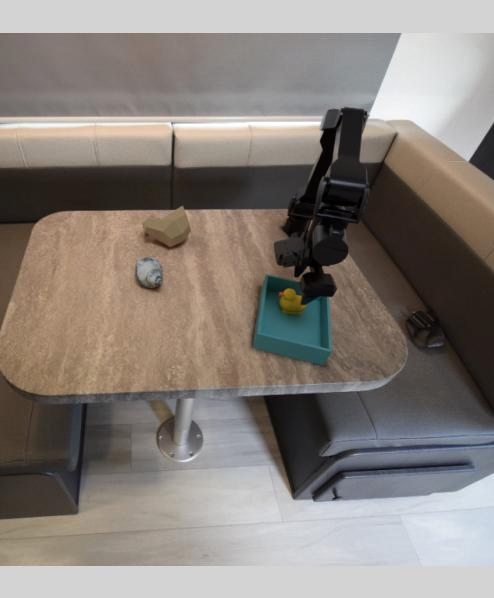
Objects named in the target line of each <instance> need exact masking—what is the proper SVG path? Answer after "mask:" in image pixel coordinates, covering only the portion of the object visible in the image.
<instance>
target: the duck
mask: <svg viewBox="0 0 494 598" xmlns="http://www.w3.org/2000/svg"><path fill="white" fill-rule="evenodd" d="M279 296H282V297H281V299H280V301H279V305H280V307H281V309H282V313H286V314H296V315H301V311H303V310H305V308H306V307H307V305H301V304H300V302H301V297H302V296H300V295H296V292H295V290H293V289H291V288H289V289H286V290H285V291H284V292H279Z"/></svg>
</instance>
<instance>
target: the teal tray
mask: <svg viewBox="0 0 494 598" xmlns="http://www.w3.org/2000/svg"><path fill="white" fill-rule="evenodd" d="M299 282H300V280H295V279H291V278H285V277H281V276H276V275H272V274H265V276H264V279H263V282H262V285H261V288H260V295H259V302H258V308H257V314H256V321H255V328H254V335H253V341H252V347H251V348H253V349H256V350H259V351H264V352H268V353H272V354H275V355H280V356H284V357H288V358H292V359H295V360H300V361H304V362H308V363H312V364H316V365H320V366H324V365H325V364H326V363H327V361H328V359H329V358H330V356H331V354H332V352H333V344H332V343H333V342H332V324H331V322H332V321H331V320H332V319H331V301H330V299H331V297H324V296H320V297H318V298H317V299H315V300H313V301H312V302H310V303H308V304H307V307H306V308H305V310H303V311H301V315H296V314H286V313H282V309H281V307H280V305H279V301H280V299H281V297H282V296H279V292H284V291H285V290H286V289H289V288H291V289H293V290H295V292H296V295H300V296H302V291H301V288H300V284H299Z"/></svg>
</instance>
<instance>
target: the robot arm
mask: <svg viewBox="0 0 494 598" xmlns="http://www.w3.org/2000/svg"><path fill="white" fill-rule="evenodd" d="M368 119H369V114H368V110H365V108H360V107H352V106H344V107H339V108H335V107H331V108H330V109H327V110H326V111H325V112H324V114H323V115H322V118H321V120H320V124H319V131H320V136H319V144H320V149H319V152H318V154H317V157H316V159H315V162H314V164H313V166H312V168H311V171H310V174H309V176H308V178H307V181H306V183H305V185H303V186H301V187H299V188H298V189H297V191H296V193H295V196H292V198H291V199H290V201H289V202H288V207H287V215H286V216H287V218H286V219H285V223H284V225H282V226H281V228H282V230H283V231H284V232H285V234H286V235H287V236H288V237H289V238H285V239H280V240H276V241H274V242H273V251H274V258H275V262H276V265H277V266H279V267H283V268H285V269H287V268H291V267H293V278H297V279H299V278H300V280H299V281H300V282H299V284H300V288H301V291H302V297H301V302H300V304H301V305H307V304H308V303H310V302H312V301H313V300H315V299H317V298H318V297H320V296H324V297H329V298H333V297H334V296H335V295H336V292H337V291H338V287H337V284H336V281H335V278H334V277H333V275H332V274H331V273H326V272H324V268H323V267H330V266H335V265H338V264H340V263H342V262H344V260H346V259H347V257H348V255H349V250H350V249H349V241H348V232H347V230H348V229H347V228H348V226H349V224H354V225H359V223H360V220H361V217H363V216H364V215H365V214H366V210H367V205H368V201H369V196H370V192H371V189H370V182H368V170H367V168H366V167H365V166H364V165H363V163H362V162H361V150H362V141H363V140H362V139H363V134H364V131H365V129H366V125H367V122H368ZM346 208H350V209H354V208H355V209H354V211H353V210H348V209H347V210H346ZM307 268H309V271H307V272H305V271H306V269H307ZM304 272H305V273H304Z"/></svg>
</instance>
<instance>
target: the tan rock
mask: <svg viewBox="0 0 494 598" xmlns="http://www.w3.org/2000/svg"><path fill="white" fill-rule="evenodd" d="M141 224H142V229H143V234H144V238H145V239H147V238H148V237H151V238H153V239H154V240H156V241H158V242H161V243H162V244H163V245H166V246H167V247H170V248H171V247H173V246H174V247H175V245H179V244H182V243H183V242H184V240H186V238H187V237H188V236H189V235H190V233H191V232H192V228H191V225H190V222H189V218H188V215H187V212H186V210H185V208H184V205H181V206H179V207H178V208H176V209H174V210H173V211H172V212H170V213H168V214H167V215H165V216H164V217H162V218H159V217H156V216H152V215H151V216H149V217H146V219H145V220H144V221H143V222H142V223H141Z"/></svg>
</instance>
